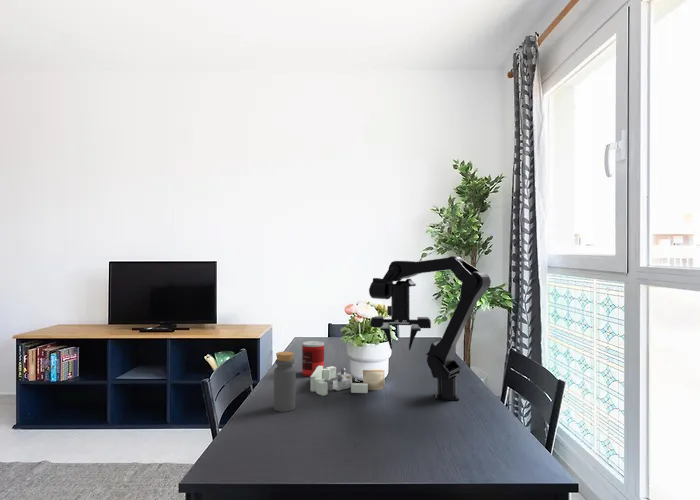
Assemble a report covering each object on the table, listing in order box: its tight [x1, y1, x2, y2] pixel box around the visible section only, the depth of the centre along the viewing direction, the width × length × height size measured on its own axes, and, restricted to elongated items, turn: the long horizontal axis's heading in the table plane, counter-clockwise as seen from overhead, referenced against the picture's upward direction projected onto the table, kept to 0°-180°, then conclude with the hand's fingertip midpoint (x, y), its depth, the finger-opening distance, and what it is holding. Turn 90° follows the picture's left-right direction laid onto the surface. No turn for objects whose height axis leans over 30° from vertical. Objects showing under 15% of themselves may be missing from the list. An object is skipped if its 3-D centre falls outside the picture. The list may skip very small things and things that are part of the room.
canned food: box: [301, 340, 325, 378], centre depth 157 cm, size 8×8×11 cm
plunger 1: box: [332, 374, 351, 391], centre depth 139 cm, size 5×2×4 cm, turn 129°
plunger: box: [336, 367, 353, 384], centre depth 146 cm, size 5×2×4 cm, turn 39°
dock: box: [309, 366, 369, 396], centre depth 143 cm, size 22×18×4 cm
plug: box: [362, 368, 386, 391], centre depth 142 cm, size 7×7×5 cm
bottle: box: [273, 351, 297, 413], centre depth 121 cm, size 6×6×15 cm
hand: (400, 349), depth 141 cm, fingers open, 5 cm apart
